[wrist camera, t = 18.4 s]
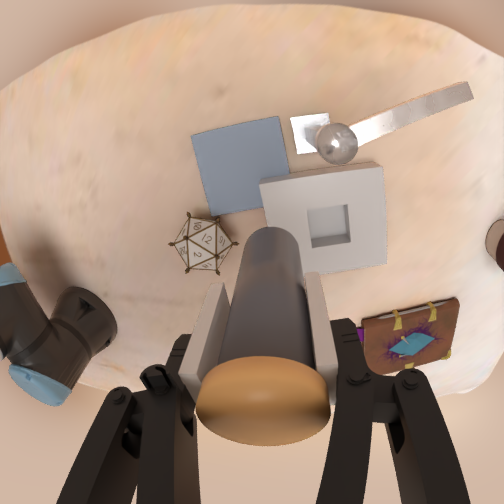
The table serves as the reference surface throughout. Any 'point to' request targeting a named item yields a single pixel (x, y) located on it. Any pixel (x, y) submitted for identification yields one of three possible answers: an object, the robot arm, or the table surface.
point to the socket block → (331, 215)
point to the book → (409, 337)
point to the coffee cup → (496, 242)
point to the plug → (266, 353)
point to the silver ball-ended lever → (385, 122)
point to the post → (307, 131)
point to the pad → (239, 163)
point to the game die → (203, 244)
